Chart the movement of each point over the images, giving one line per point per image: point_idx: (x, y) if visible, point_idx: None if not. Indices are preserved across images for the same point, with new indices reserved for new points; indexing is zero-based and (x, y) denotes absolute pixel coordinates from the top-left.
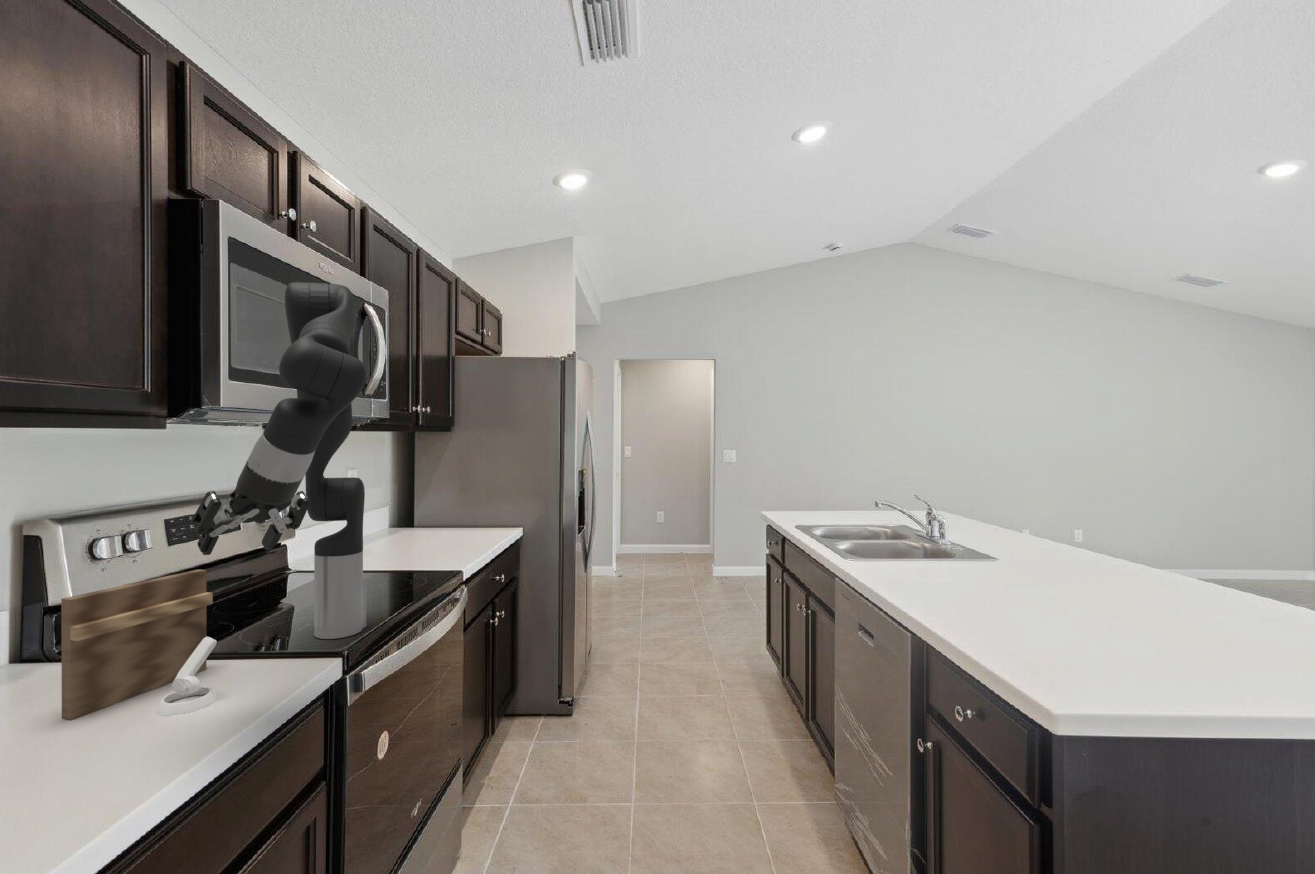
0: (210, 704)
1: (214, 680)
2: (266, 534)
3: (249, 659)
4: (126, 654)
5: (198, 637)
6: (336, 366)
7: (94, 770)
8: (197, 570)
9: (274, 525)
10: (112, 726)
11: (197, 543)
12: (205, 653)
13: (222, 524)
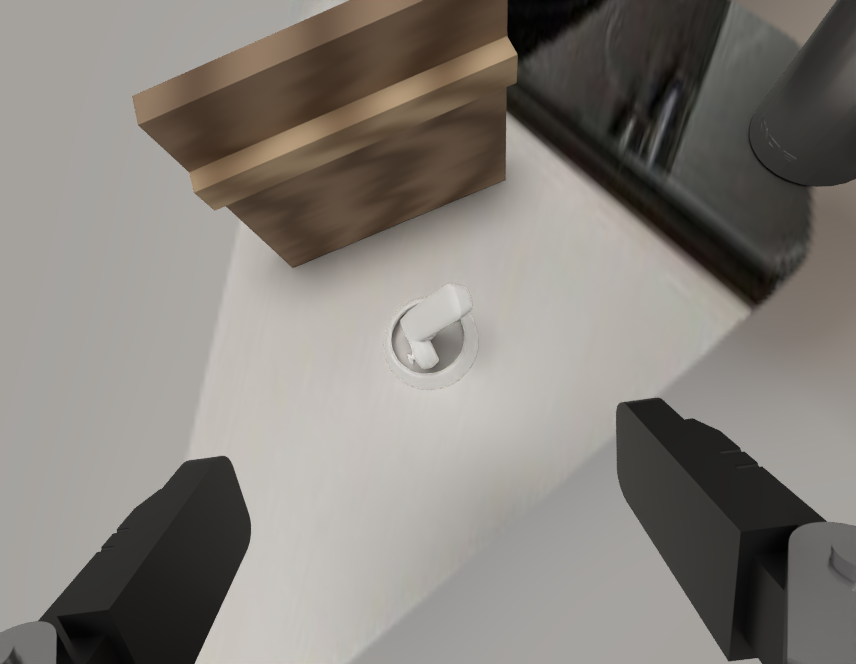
0: (457, 380)
1: (499, 252)
2: (664, 465)
3: (585, 180)
4: (341, 189)
5: (487, 137)
6: None
7: (261, 514)
8: None
9: (777, 616)
10: (324, 346)
11: (135, 513)
12: (444, 327)
13: None
